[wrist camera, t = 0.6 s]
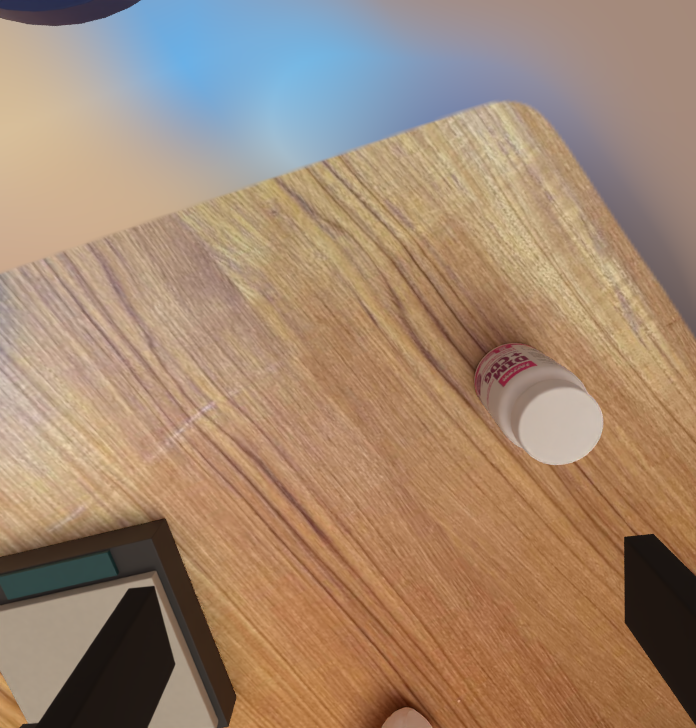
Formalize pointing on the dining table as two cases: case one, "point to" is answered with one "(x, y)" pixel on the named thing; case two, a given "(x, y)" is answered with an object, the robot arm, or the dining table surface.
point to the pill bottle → (538, 404)
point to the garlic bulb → (406, 719)
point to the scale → (91, 611)
